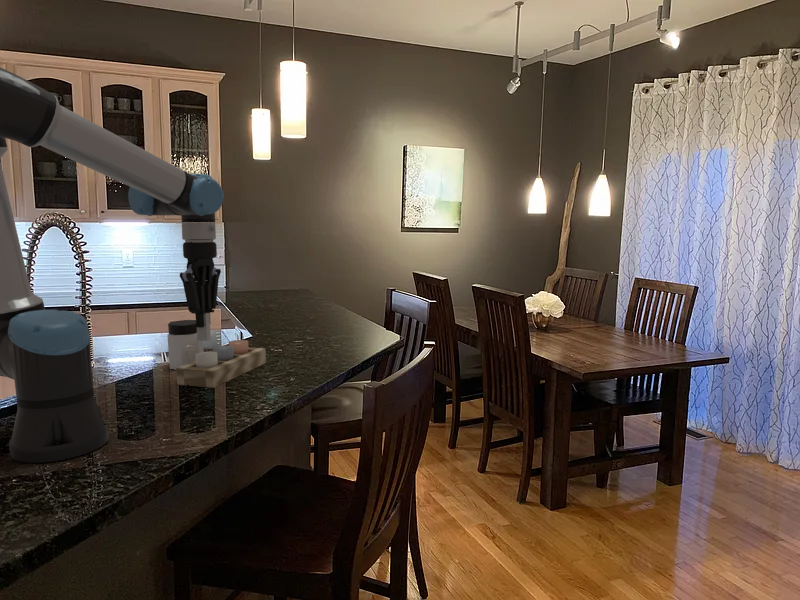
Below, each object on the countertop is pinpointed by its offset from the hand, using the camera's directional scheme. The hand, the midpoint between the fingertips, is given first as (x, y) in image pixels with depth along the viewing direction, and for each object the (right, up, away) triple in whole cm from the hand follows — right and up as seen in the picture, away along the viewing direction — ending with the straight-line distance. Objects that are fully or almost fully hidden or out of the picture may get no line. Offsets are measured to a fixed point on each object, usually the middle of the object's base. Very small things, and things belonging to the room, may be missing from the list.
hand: (204, 340), depth 145 cm
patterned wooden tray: (+2, -9, +8) cm, 13 cm away
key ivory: (0, -8, +2) cm, 9 cm away
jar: (-9, -8, +15) cm, 20 cm away
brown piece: (+5, -6, +15) cm, 17 cm away
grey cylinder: (+2, -7, +8) cm, 11 cm away
